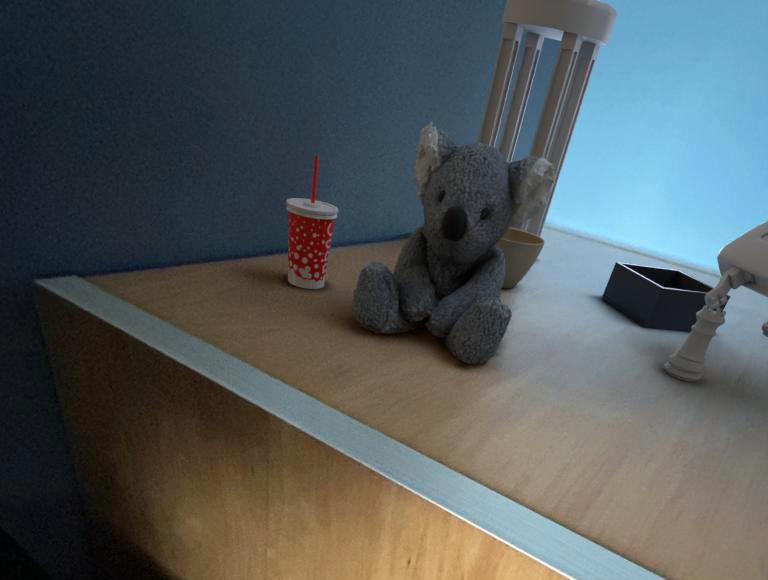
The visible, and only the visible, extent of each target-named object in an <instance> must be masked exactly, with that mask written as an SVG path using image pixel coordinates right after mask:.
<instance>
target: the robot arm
mask: <svg viewBox="0 0 768 580" xmlns="http://www.w3.org/2000/svg"><path fill="white" fill-rule="evenodd" d="M716 259H717V264H718V270H719V272H720V275H721V277H720V279H719V281H718V283H717V284H716V286H715V287H713V288H714V289H712V290H711V291H709V292H708V293H707V294H706V295H705V302H706V305H708V306H714V309H717V308H719V307H720V306H721V305H724V304H725V303H726V302H727V303H728V302H729V300H728V299H727V296H726V295H729V292H730V291H731V290H737V289H738V288H740V287H741V286H742V287H744V288H747V289H748V290H751V291H753V292H755V293H757V294H760V295H761V296H764V297H766V298H768V220H766V221H764V222H761V223H760V224H757V225H756V226H754V227H752V228H750V229H749V230H747V231H745V232H744V233H742V234H741V235H739V236H737V237H735V238H734V239H733V240H731V241H730V242H728V243H726V244H725V245H724V246H722V248H720V249H719V251H718V254H717V257H716ZM761 330H762V335H763V336H765V337H766V338H768V320H767V321H765V322H764V323H763V324H762V326H761Z"/></svg>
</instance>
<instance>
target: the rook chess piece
mask: <svg viewBox="0 0 768 580" xmlns="http://www.w3.org/2000/svg"><path fill="white" fill-rule="evenodd" d="M707 307H708V306H707V305H704V306H703V308H702V310H700V311H698V312H697V313H696V317H697V322H696V324H695V325H693V326H692V331H690V333H689V335H688V337H687V338H686V339H685V341H684V342H683V344H682V345H681V346H680V347H679V348H678V349H676V350H675V352H674V353H671V354H669V356H668V358H667V361H668V362H665V363H664V365H663V368H664V371H665V373H666V374H668V375H669V376H671V377H673V378H675V379H678V380H681V381H685V382H690V383H691V382H696V381H698V380H700V379H702V374H701V373H704V371H705V368H706V364H705V361H706V353H707V350H708V348H709V345H710V343H711V341H712V339H713V338H714V337H715V336H717V329H718V328H719V327H720V326H722V325H725V324H726V318H725V316H726V315H727V311H726V310H723V311H722V309H720V308H717V310H716V311H713V308H714V306H709V308H708V310H707ZM721 311H722V313H721ZM720 313H721V314H720Z"/></svg>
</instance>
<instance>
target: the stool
mask: <svg viewBox="0 0 768 580" xmlns="http://www.w3.org/2000/svg"><path fill="white" fill-rule="evenodd" d="M503 11H504V12H503V15H502V21H501V25H502V26H503V27H502V32H501V36H500V40H499V45H498V50H497V53H496V58H495V62H494V68H493V72H492V75H491V80H490V84H489V89H488V92H487V97H486V101H485V106H484V109H483V115H482V119H481V124H480V128H479V133H478V137H477V141H476V142H477V143H482V145H489V146H490V147H495V148H496V144H497V138H498V135H499V131H500V127H501V122H502V118H503V115H504V111H505V107H506V103H507V98H508V94H509V91H510V86H511V82H512V77H513V73H514V70H515V65H516V63H517V62H516V61H517V58H518V54H519V50H520V45H521V42H522V38H523V33H525V37H524V42H523V47H522V50H521V54H520V59H519V63H518V67H517V71H516V74H515V79H514V82H513V86H512V91H511V94H510V98H509V102H508V107H507V111H506V114H505V119H504V123H503V127H502V130H501V135H500V139H499V141H498V142H499V143H498V147H497V150H498V151H499V152H500V153H501V154H502V156H503V157H504V159H506V160H507V162H508V164H509V163H511V162H513V158H514V154H515V151H516V147H517V143H518V140H519V136H520V132H521V128H522V124H523V120H524V117H525V113H526V109H527V105H528V103H529V102H528V101H529V98H530V94H531V90H532V87H533V83H534V82H533V81H534V79H535V75H536V71H537V67H538V64H539V60H540V56H541V52H542V49H543V46H544V41H545V38H546V39H551V40H556V41H559V42H560V43H559V47H558V50H557V54H556V58H555V61H554V65H553V69H552V72H551V75H550V79H549V83H548V86H547V88H546V89H547V90H546V92H545V93H546V94H545V96H544V101H543V105H542V107H541V111H540V115H539V118H538V122H537V125H536V129H535V132H534V136H533V139H532V143H531V146H530V151H529V154H528V157H529V156H530V157H531V156H537V158H538V159H539V158H541V157H542V155H543V157H544V156H546V157H545V160H547V161H548V162H550V163H551V164H552V165H553V166H555V168H557V169H556V170H558V171H557V174H556V176H557V177H556V179H555V182H556V184H552V185H551V187H550V188H551V190H550V192H551V193H550V195H551V196H550V197H547V198H546V202H547V203H546V204H544V205H543V206H542V207H541V209H540V212H539V213H538V214H535V215H534V216H532V218H531V219H529V220H527V221H526V222H525V223H524V224H522V226H514V227H511V228H515V229H519V230H523V231H526V232H529V233H532V234H535V235H537V236H539V237H541V236H542V233H543V229H544V227H545V223H546V220H547V216H548V214H549V211H550V208H551V204H552V201H553V198H554V195H555V193H556V188H557V185H558V182H559V179H560V176H561V172H562V169H563V166H564V163H565V159H566V156H567V153H568V150H569V147H570V143H571V141H572V137H573V134H574V131H575V128H576V125H577V121H578V118H579V116H580V115H579V114H580V112H581V109H582V105H583V102H584V99H585V96H586V92H587V89H588V87H589V83H590V80H591V77H592V73H593V71H594V67H595V64H596V61H597V57H598V54H599V51H600V48H601V47H603V46H607V45H608V44H609V41H610V38H611V35H612V31H613V28H614V25H615V22H616V19H617V13H618V12H617V10H616V9H615V8H614V7H613V6H612V5H610V4H609V3H606V2H603V1H601V0H506V4H505V6H504V10H503Z"/></svg>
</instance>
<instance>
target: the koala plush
mask: <svg viewBox="0 0 768 580" xmlns="http://www.w3.org/2000/svg"><path fill="white" fill-rule="evenodd" d="M433 124H434V122H433V121H431V122H430V123H429V124H426V126H425V127H422V129H421V131H419V132H420V135H419V141H420V142H418V144H417V146H416V148H415V149H414V152H415V153H416V155H415V161H414V163H415V164H414V166H413V168H412V170H414V177H413V178H412V181H411V183H412V184H415V186H417V189H418V191H417V198H419V200H420V203H421V206H422V207H423V209H422V211H423V217H424V218H423V220H424V221H423V223H422V224H421V226H418V227H417V228H415V229H414V231H412V234H411V235H410V236H409V237H408V238H407V240H406V241H405V243H404V245H403V246H402V248H401V251H400V253H399V255H398V257H397V260H396V263H395V265H394V269H393V272H392V270H390V268H389V267H388V266H387V265H386V263H385V264H384V263H383V264H382V262H380V261H378V262H377V261H372V262H369V263H367V264H366V265H365V266H362V268H361V270H360V272H359V275H358V280H357V281H356V282H357V284H356V288H355V289H354V290H353V293H354V294H353V298H352V311H353V313H352V314H353V317H354V318H355V320H356V321H357V322H358V323H359V324H360V325H361V327H363V329H365V330H367V331H372V332H373V333H375V334H396V333H397V334H398V333H399V334H401V333H406V332H408V331H413V330H416V329H420V328H422V327H424V326H426V328H427V331H428V332H430V333H431V334H432V335H433V336H435V337H439V338H444V340H445V345H446V347H447V349H448V350H450V352H451V353H452V354H453V356H454V357H455V358H457V359H459V360H460V361H462V362H463V363H465V364H468V365H472V364H473V365H476V364H479V365H481V364H484V362H487V361H489V360H491V359H492V358H493V357H494V356H495V355H496V353H497V351H498V350H499V349H500V347H501V344H502V340H503V338H504V336H505V334H506V332H507V330H508V326H509V325H510V322H511V319H512V316H513V312H512V308H510V307H509V306H510V305H509V304H506V303H504V302H503V301H502V298H501V290H502V289H503V288H502V285H503V282H504V277H505V268H506V265H505V257H504V254H503V253H502V250H500V249H499V248H498V247H497V246H496V245H495V244H496V243H498V241H499V240H500V239H501V238H502V237H503V235H504V234H505V232H506V231H507V229H508V228H509V227H514V226H522V224H524V223H525V222H526V221H527V220H529V219H531V218H532V216H534V215H535V214H538V213H539V212H540V209H541V207H542V206H543V205H544V204H546V203H547V202H546V198H547V197H550V196H551V195H550V193H551V192H550V190H551V188H550V187H551V185H552V184H556V182H555V179H556V177H557V176H556V174H557V171H558V170H556V169H557V168H555V166H553V165H552V164H551V163H550V162H548V161H547V160H545V157H546V156H544V157H543V155H542V157H541V158H539V159H538V158H537V156H531V157H530V156H529V155H528V156H525V157H524V158H522V159H518V160H512V162H511V163H509V164H508V162H507V160H506V159H504V157H503V156H502V154H501V153H500V152H499V151H498V148H496V146H495V147H490V146H489V145H482V143H477V141H476V142H471V143H470V142H468V143H467V144H463V145H460V146H459V145H458V144H457V143H456V140H454V139H453V138H451V137H449V135H448V133H447V131H445V130H444V129H443V128H438V129H437V125H436V126H433Z"/></svg>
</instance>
